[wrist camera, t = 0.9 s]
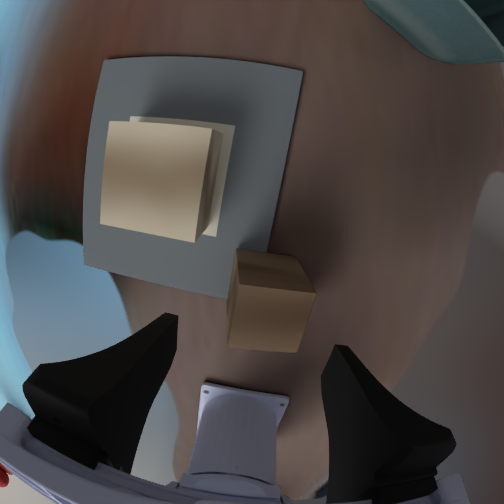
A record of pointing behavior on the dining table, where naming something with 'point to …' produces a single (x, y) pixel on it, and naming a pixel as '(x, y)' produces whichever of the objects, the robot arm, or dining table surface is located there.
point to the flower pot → (448, 27)
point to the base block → (159, 178)
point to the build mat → (229, 167)
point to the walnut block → (267, 302)
